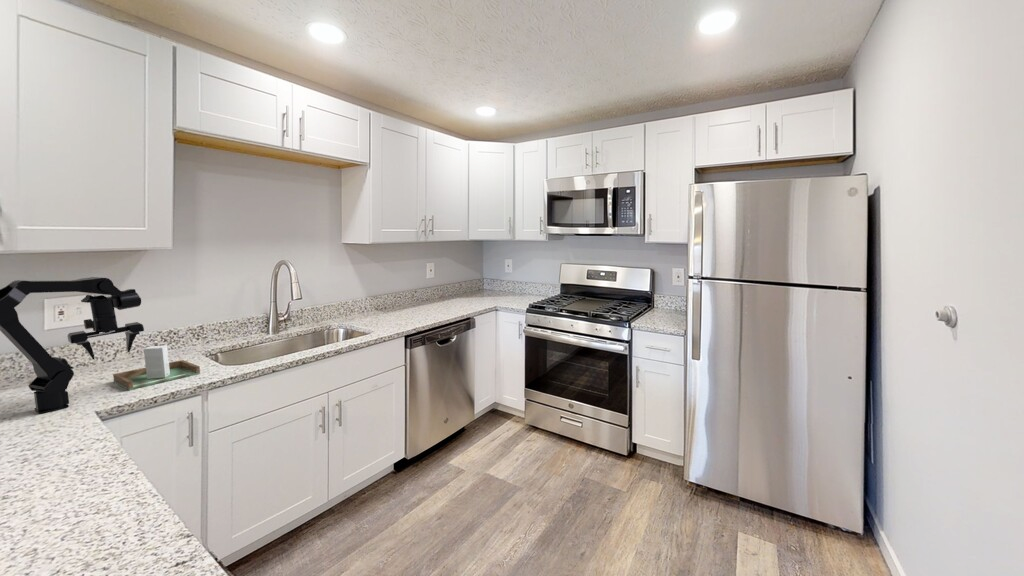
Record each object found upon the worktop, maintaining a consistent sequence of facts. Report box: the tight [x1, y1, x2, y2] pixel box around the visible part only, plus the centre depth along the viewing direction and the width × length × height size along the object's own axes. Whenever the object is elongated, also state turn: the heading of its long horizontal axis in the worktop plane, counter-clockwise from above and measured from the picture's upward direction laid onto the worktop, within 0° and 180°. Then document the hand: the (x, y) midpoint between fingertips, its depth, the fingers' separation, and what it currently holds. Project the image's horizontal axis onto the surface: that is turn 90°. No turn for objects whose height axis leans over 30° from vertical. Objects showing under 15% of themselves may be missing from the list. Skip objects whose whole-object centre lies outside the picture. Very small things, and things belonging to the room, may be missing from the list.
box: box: [112, 359, 201, 391], centre depth 163 cm, size 22×16×3 cm
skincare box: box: [143, 344, 170, 379], centre depth 161 cm, size 6×4×12 cm
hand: (111, 355), depth 148 cm, fingers open, 9 cm apart
